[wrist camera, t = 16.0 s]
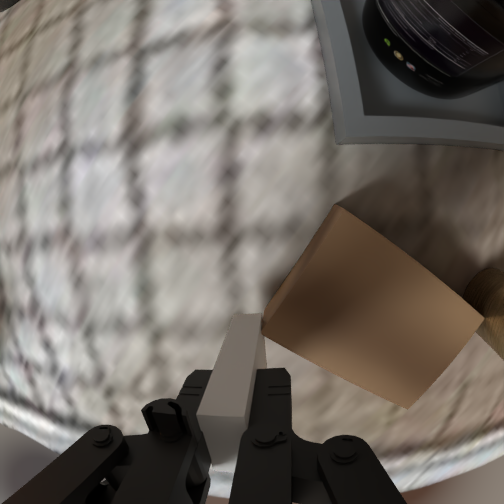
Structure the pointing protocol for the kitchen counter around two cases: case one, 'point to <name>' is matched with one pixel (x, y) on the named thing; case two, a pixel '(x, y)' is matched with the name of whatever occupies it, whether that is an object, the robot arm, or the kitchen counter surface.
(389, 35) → the supplement bottle
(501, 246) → the kitchen counter surface
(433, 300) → the tan cardboard box
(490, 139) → the tray
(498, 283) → the cylinder
